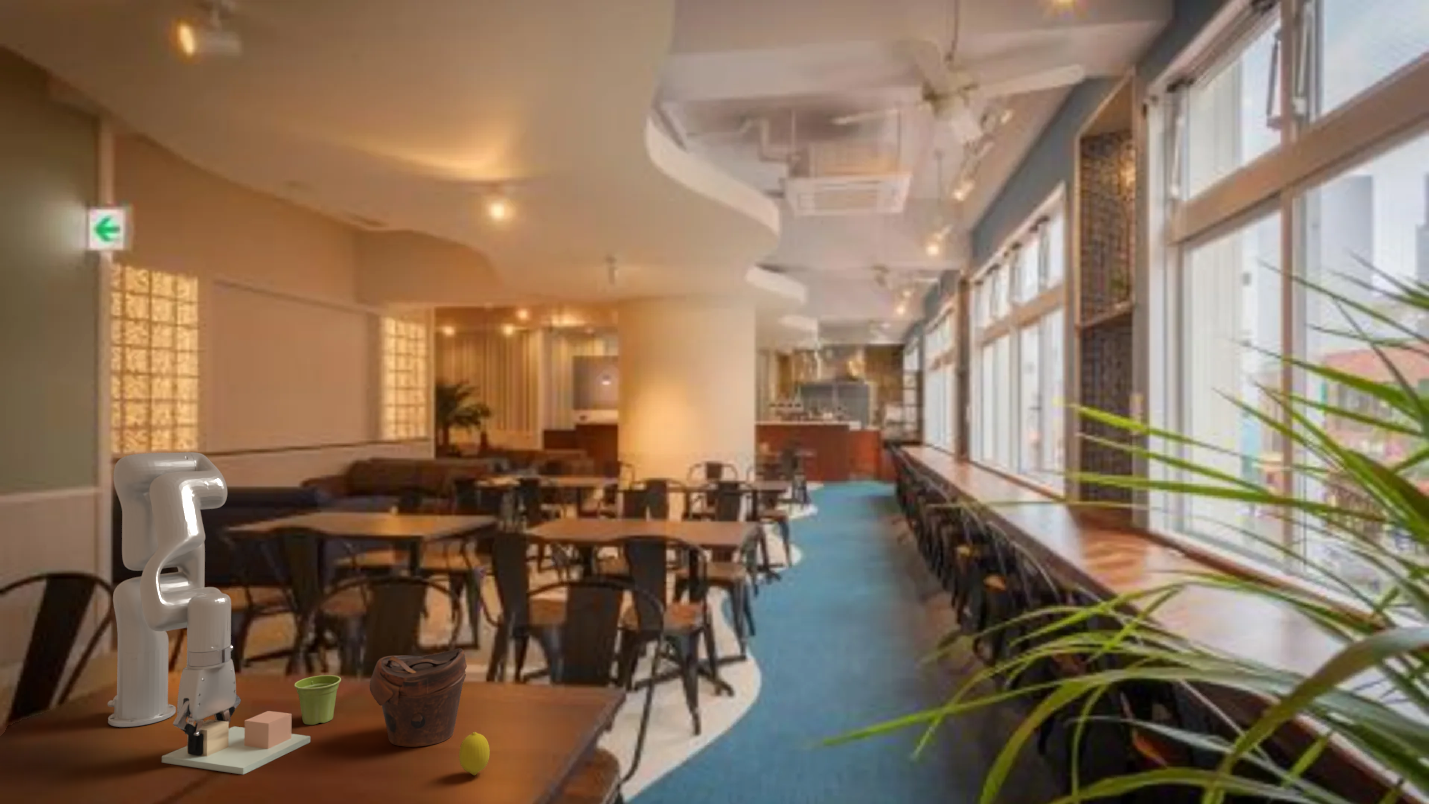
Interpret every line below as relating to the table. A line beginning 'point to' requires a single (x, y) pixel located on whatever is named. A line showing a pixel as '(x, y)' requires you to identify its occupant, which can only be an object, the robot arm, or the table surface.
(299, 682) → the plant pot
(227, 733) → the maple cube
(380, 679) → the case
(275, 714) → the base block
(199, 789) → the table surface
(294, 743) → the building board
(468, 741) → the lemon
